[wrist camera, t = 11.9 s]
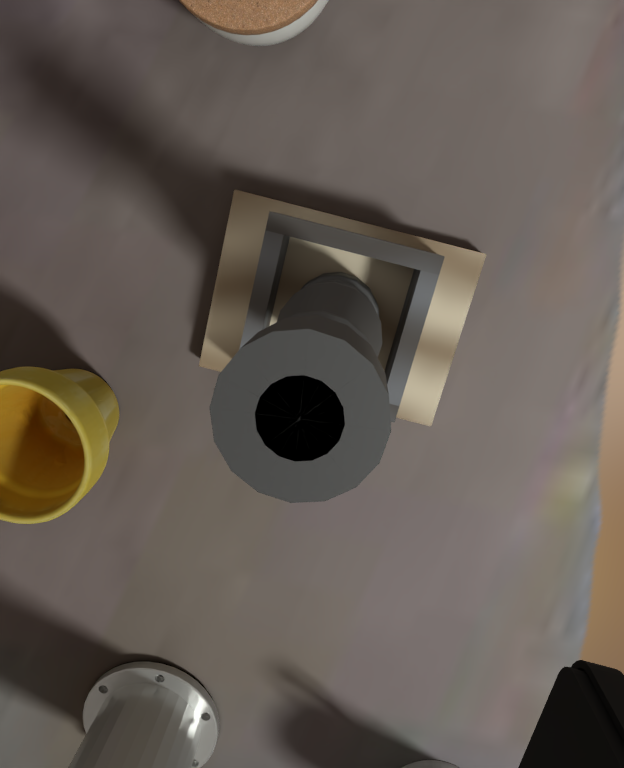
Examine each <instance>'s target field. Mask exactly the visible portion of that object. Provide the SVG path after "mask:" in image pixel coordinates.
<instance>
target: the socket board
mask: <svg viewBox="0 0 624 768" xmlns="http://www.w3.org/2000/svg"><path fill="white" fill-rule="evenodd" d="M485 257H486V254H484V253H480V252H476V251H472V250H468V249H464V248H460V247H456V246H453V245H449V244H445V243H441V242H437V241H433V240H429V239H425V238H422V237H418V236H414V235H410V234H406V233H402V232H398V231H394V230H390V229H387V228H383V227H379V226H375V225H371V224H367V223H363V222H359V221H355V220H352V219H348V218H344V217H340V216H336V215H332V214H328V213H324V212H321V211H317V210H313V209H309V208H305V207H301V206H297V205H293V204H289V203H286V202H282V201H278V200H274V199H270V198H266V197H262V196H258V195H254V194H251V193H247V192H243V191H239V190H235V189H234V194H233V199H232V204H231V209H230V214H229V219H228V223H227V228H226V233H225V238H224V243H223V248H222V253H221V258H220V263H219V268H218V273H217V278H216V283H215V288H214V293H213V298H212V303H211V308H210V313H209V318H208V323H207V328H206V333H205V338H204V343H203V348H202V353H201V358H200V363H199V366H201V367H205V368H208V369H212V370H216V371H220V372H221V371H222V370H223V369H224V368H225V367H226V365H227V364H228V363H229V362H230V360H231V359H232V358H233V357H234V356H235V354H236V353H237V352H238V351H239V349H240V348H241V347H242V346H243V345H244V344H246V343H247V342H248V341H249V340H250V339H251V338H252V337H253V336H254V335H255V334H257V333H258V332H259V331H261V330H263V329H265V328H267V327H269V326H271V325H273V324H274V323H276V322H277V320H278V316H279V313H280V310H281V309H282V308H283V307H284V306H285V304H286V303H287V302H288V301H289V299H290V298H291V297H292V296H293V295H294V294H295V293H296V292H298V291H300V289H301V288H302V287H303V286H304V285H305V284H306V283H307V282H308V281H310V280H312V279H314V278H316V277H318V276H319V275H321V274H323V273H332V272H343V273H346V274H349V275H352V276H356V277H358V278H359V279H360V280H361V281H362V282H363V283H365V284H366V285H367V286H368V287H369V288H370V289H371V291H372V293H373V295H374V297H375V299H376V301H377V303H378V308H379V319H380V321H381V330H382V346H381V349H380V352H379V355H378V360H379V362H380V364H381V366H382V368H383V370H384V371H385V375H386V381H387V387H388V393H389V404H390V421H391V422H394V423H395V419H396V417H397V418H401V419H404V420H408V421H412V422H416V423H420V424H424V425H427V426H431V425H432V422H433V419H434V416H435V412H436V409H437V406H438V403H439V400H440V397H441V394H442V391H443V388H444V384H445V381H446V378H447V375H448V372H449V369H450V366H451V363H452V360H453V357H454V353H455V350H456V347H457V344H458V341H459V338H460V335H461V332H462V329H463V325H464V322H465V319H466V316H467V313H468V310H469V307H470V304H471V301H472V297H473V294H474V291H475V288H476V285H477V282H478V279H479V276H480V273H481V270H482V266H483V263H484V260H485Z"/></svg>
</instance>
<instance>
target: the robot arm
mask: <svg viewBox="0 0 624 768" xmlns="http://www.w3.org/2000/svg"><path fill="white" fill-rule="evenodd" d="M83 725H84V729H85V732H86V735H85V737H84V739H83V741H82V743H81V745H80V747H79V749H78V750H77V752H76V754H75V756H74V758H73V760H72V762H71V763H70V765H69V767H68V768H201V767H202V766H203V765H204V764H205V763H206V762H207V761H208V759H209V758H210V756H211V755H212V753H213V751H214V748H215V746H216V743H217V739H218V735H219V716H218V712H217V709H216V706H215V704H214V702H213V700H212V698H211V697H210V695H209V694H208V692H207V691H206V690H205V689H204V688H203V687H202V686H201V685H200V684H199V683H198V682H197V681H196V680H195V679H194V678H192V677H191V676H189V675H188V674H186V673H185V672H183V671H181V670H179V669H176V668H174V667H172V666H168V665H165V664H162V663H155V662H148V661H147V662H132V663H127V664H122V665H120V666H117V667H115V668H113V669H111V670H109V671H108V672H106V673H105V674H103V675H102V676H101V677H100V678H99V679H98V680H97V681H96V682H95V684H94V686H93V687H92V689H91V691H90V692H89V694H88V696H87V698H86V701H85V703H84V708H83ZM519 768H624V675H623V674H622V672H620V671H618V670H617V669H613V668H610V667H606V666H602V665H598V664H594V663H590V662H586V661H583V660H579V661H576V662H575V663H574V664H573V665H572V667H571V668H570V667H564V668H562V669H561V671H560V672H559V674H558V676H557V679H556V681H555V683H554V686H553V688H552V690H551V693H550V695H549V697H548V700H547V702H546V704H545V707H544V709H543V711H542V714H541V716H540V718H539V721H538V723H537V725H536V728H535V730H534V732H533V735H532V737H531V740H530V742H529V744H528V747H527V749H526V751H525V754H524V756H523V758H522V761H521V763H520V765H519Z"/></svg>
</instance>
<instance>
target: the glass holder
mask: <svg viewBox="0 0 624 768" xmlns="http://www.w3.org/2000/svg"><path fill="white" fill-rule="evenodd" d="M402 768H459V767H457V766H455V765H453V764H450V763H448V762H443V761H438V760H422V761H417V762H413V763H410V764H407V765H406V766H404V767H402Z"/></svg>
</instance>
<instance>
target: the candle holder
mask: <svg viewBox="0 0 624 768" xmlns="http://www.w3.org/2000/svg"><path fill="white" fill-rule="evenodd" d="M381 346H382V330H381V321H380V319H379V308H378V303H377V301H376V299H375V297H374V295H373V293H372V291H371V289H370V288H369V287H368V286H367V285H366V284H365V283H363V282H362V281H361V280H360V279H359V278H358V277H356V276H352V275H349V274H346V273H343V272H332V273H323V274H321V275H319V276H318V277H316V278H314V279H312V280H310V281H308V282H307V283H306V284H305V285H304V286H303V287H302V288H301V289H300V291H298V292H296V293H295V294H294V295H293V296H292V297H291V298H290V299H289V301H288V302H287V303H286V304H285V306H284V307H283V308H282V309H281V310H280V313H279V316H278V320H277V322H276V323H274V324H273V325H271V326H269V327H267V328H265V329H263V330H261V331H259V332H258V333H257V334H255V335H254V336H253V337H252V338H251V339H250V340H249V341H248V342H247V343H246V344H244V345H243V346H242V347H241V348H240V349H239V351H238V352H237V353H236V354H235V356H234V357H233V358H232V359H231V360H230V362H229V363H228V364H227V365H226V367H225V368H224V369H223V370H222V371H221V373H220V374H219V376H218V379H217V383H216V386H215V390H214V394H213V397H212V401H211V404H210V414H211V422H212V429H213V436H214V442H215V443H216V445H217V447H218V449H219V450H220V452H221V454H222V456H223V457H224V459H225V461H226V463H227V464H228V466H229V468H230V469H231V471H232V472H234V473H235V474H236V475H237V476H238V477H240V478H241V479H242V480H243V481H245V482H246V483H247V484H248V485H250V486H251V487H252V488H253V489H255V490H256V491H257V492H259V493H262V494H265V495H268V496H271V497H275V498H278V499H281V500H284V501H287V502H290V503H297V502H318V501H326V500H329V499H331V498H333V497H335V496H338V495H340V494H342V493H344V492H347V491H349V490H351V489H353V488H356V487H357V486H358V485H359V484H360V483H361V482H362V481H363V479H364V478H365V477H366V476H367V475H368V474H369V473H370V472H371V471H372V470H373V469H374V468H375V467H376V466H377V465H378V464H379V462H380V460H381V457H382V454H383V452H384V449H385V446H386V443H387V441H388V438H389V435H390V433H391V421H390V404H389V393H388V387H387V381H386V375H385V371H384V370H383V368H382V366H381V364H380V362H379V360H378V355H379V352H380V349H381Z"/></svg>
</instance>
